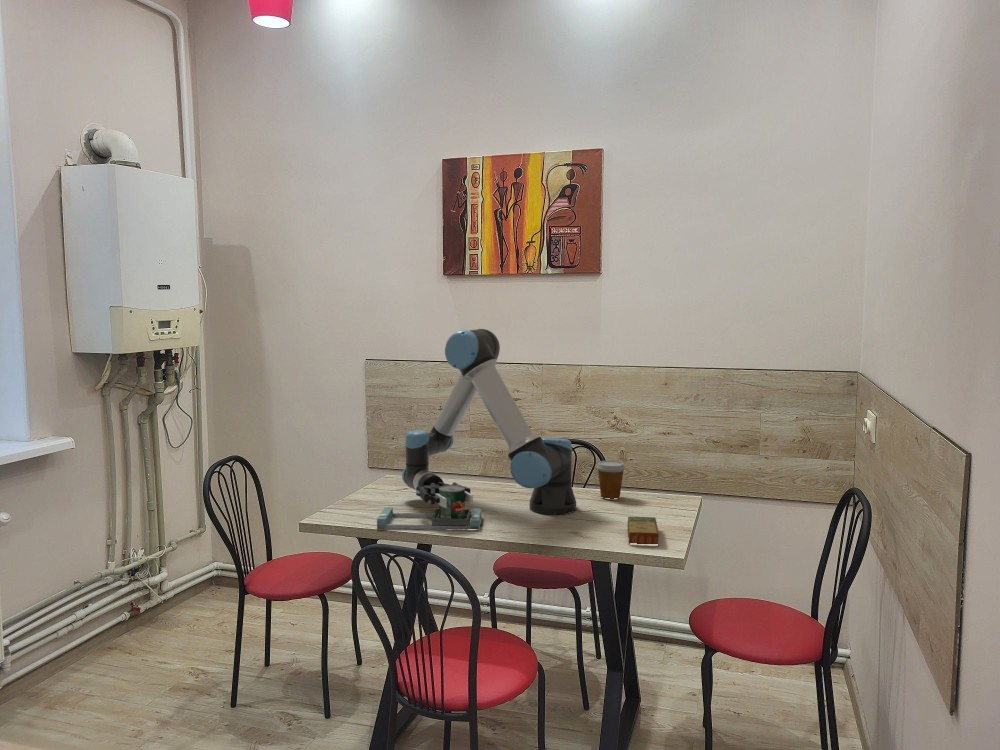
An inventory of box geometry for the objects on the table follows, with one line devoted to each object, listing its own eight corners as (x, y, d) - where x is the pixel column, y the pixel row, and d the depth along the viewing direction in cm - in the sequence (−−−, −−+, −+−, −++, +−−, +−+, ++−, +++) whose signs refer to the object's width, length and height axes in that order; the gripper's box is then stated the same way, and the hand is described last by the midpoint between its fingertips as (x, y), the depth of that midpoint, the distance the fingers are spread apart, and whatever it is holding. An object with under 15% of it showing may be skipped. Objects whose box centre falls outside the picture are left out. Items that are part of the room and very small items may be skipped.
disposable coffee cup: (626, 501, 256) (626, 466, 255) (597, 501, 256) (598, 466, 255) (622, 494, 266) (622, 460, 264) (594, 494, 266) (595, 460, 265)
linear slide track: (481, 517, 237) (481, 507, 237) (478, 530, 224) (478, 519, 224) (384, 516, 238) (384, 506, 238) (377, 528, 225) (376, 517, 225)
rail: (481, 517, 237) (481, 514, 237) (478, 530, 224) (478, 526, 224) (384, 516, 238) (384, 512, 238) (377, 528, 225) (377, 524, 225)
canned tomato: (440, 519, 235) (440, 484, 234) (466, 520, 235) (466, 484, 234) (437, 527, 227) (437, 491, 226) (463, 527, 227) (463, 491, 226)
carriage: (471, 512, 237) (471, 508, 237) (468, 525, 224) (468, 520, 224) (436, 512, 237) (436, 507, 237) (431, 524, 224) (431, 519, 224)
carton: (628, 546, 212) (628, 531, 211) (627, 529, 227) (627, 515, 227) (658, 547, 210) (659, 532, 210) (655, 530, 226) (655, 516, 226)
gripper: (457, 492, 251) (489, 509, 231) (398, 499, 241) (426, 518, 221) (457, 469, 250) (489, 484, 230) (398, 476, 241) (426, 493, 221)
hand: (458, 501), depth 226 cm, fingers closed on canned tomato, 8 cm apart
